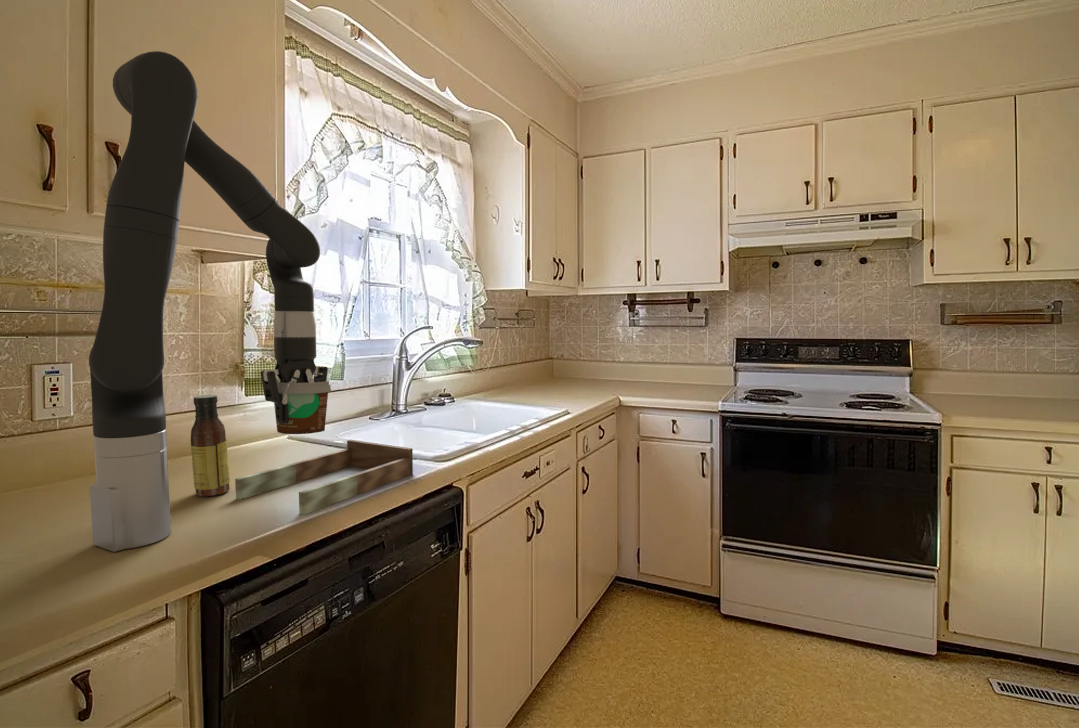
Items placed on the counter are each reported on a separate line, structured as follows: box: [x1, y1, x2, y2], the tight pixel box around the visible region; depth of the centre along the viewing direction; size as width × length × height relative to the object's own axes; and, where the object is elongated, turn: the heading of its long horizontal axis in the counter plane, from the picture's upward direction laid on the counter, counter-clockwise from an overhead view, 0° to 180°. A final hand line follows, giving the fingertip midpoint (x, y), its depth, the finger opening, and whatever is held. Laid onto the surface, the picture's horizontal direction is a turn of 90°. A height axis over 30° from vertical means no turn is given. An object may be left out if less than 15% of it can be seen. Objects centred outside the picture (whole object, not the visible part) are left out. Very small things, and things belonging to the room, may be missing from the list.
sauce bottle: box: [190, 394, 231, 498], centre depth 110 cm, size 6×6×20 cm
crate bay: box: [234, 439, 414, 515], centre depth 117 cm, size 30×19×6 cm, turn 153°
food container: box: [273, 378, 332, 435], centre depth 108 cm, size 12×6×10 cm, turn 80°
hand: (297, 420), depth 108 cm, fingers closed on food container, 5 cm apart
